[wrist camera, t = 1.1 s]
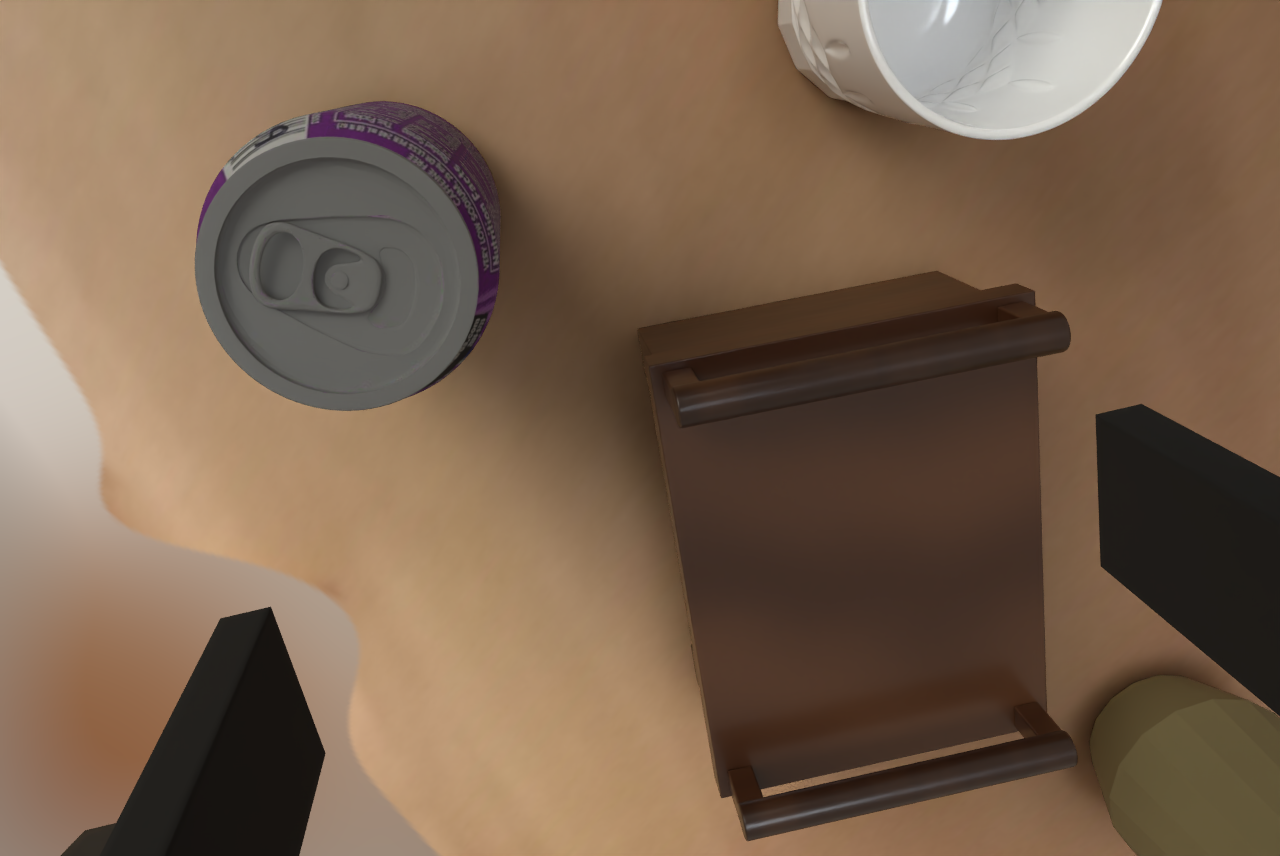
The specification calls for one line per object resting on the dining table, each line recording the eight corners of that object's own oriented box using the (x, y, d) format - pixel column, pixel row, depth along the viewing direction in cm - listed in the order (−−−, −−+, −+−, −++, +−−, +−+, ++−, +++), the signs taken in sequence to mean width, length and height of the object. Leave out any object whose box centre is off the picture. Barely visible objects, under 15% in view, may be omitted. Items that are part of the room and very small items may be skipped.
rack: (623, 316, 36) (662, 393, 27) (947, 254, 37) (1083, 309, 28) (689, 692, 42) (737, 854, 33) (969, 631, 42) (1088, 774, 34)
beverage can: (267, 290, 34) (152, 395, 23) (301, 74, 32) (194, 74, 21) (476, 336, 36) (464, 457, 24) (521, 132, 34) (530, 162, 22)
